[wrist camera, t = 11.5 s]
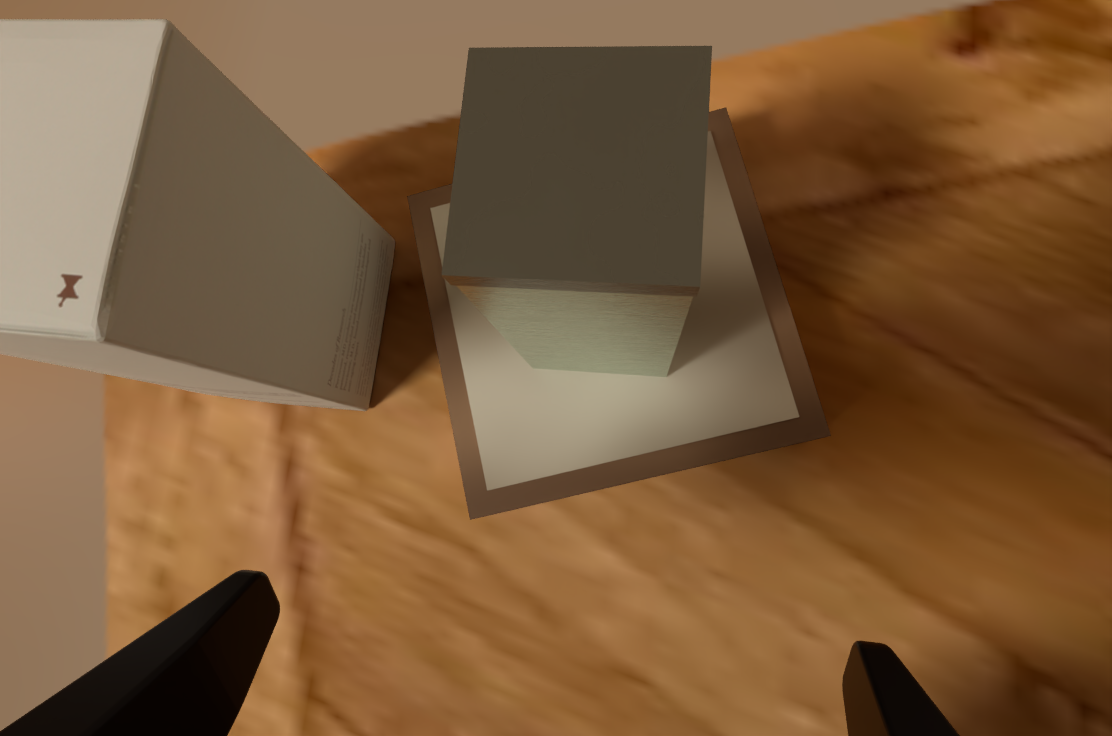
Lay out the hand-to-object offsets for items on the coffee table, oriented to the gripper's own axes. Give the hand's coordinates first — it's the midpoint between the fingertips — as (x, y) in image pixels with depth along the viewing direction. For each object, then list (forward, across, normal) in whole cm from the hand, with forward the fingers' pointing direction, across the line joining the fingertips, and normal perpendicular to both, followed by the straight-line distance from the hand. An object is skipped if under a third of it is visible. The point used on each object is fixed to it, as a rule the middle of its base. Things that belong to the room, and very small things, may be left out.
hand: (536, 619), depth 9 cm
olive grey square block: (+13, 0, +1) cm, 13 cm away
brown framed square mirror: (+15, +1, +3) cm, 15 cm away
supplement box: (+15, +13, +3) cm, 20 cm away
